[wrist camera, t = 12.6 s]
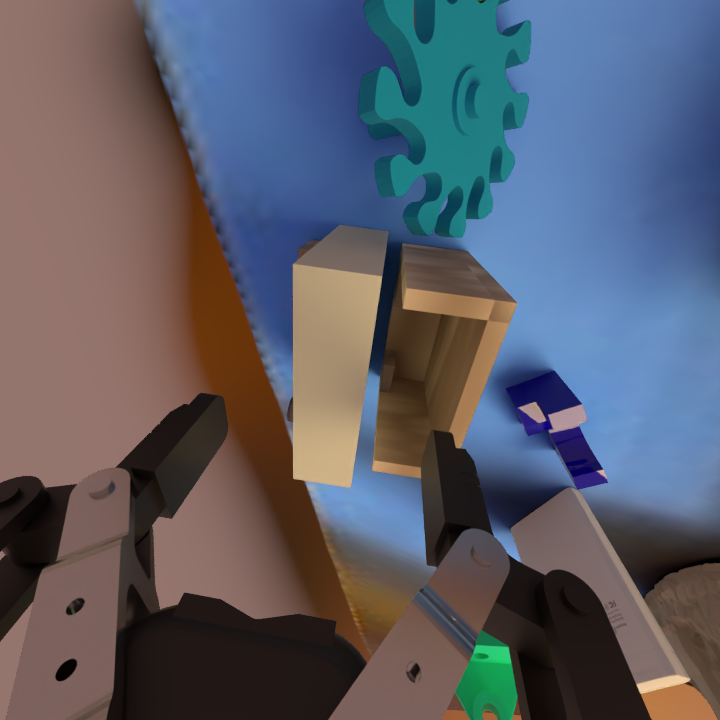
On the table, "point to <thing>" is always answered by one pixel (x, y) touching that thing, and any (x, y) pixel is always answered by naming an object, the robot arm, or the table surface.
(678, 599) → the grey rock
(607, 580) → the external hard drive
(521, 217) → the table surface
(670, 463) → the table surface
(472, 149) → the teal lobed piece
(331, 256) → the beige rectangular block
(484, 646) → the camera mount
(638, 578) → the table surface
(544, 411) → the cable holder
